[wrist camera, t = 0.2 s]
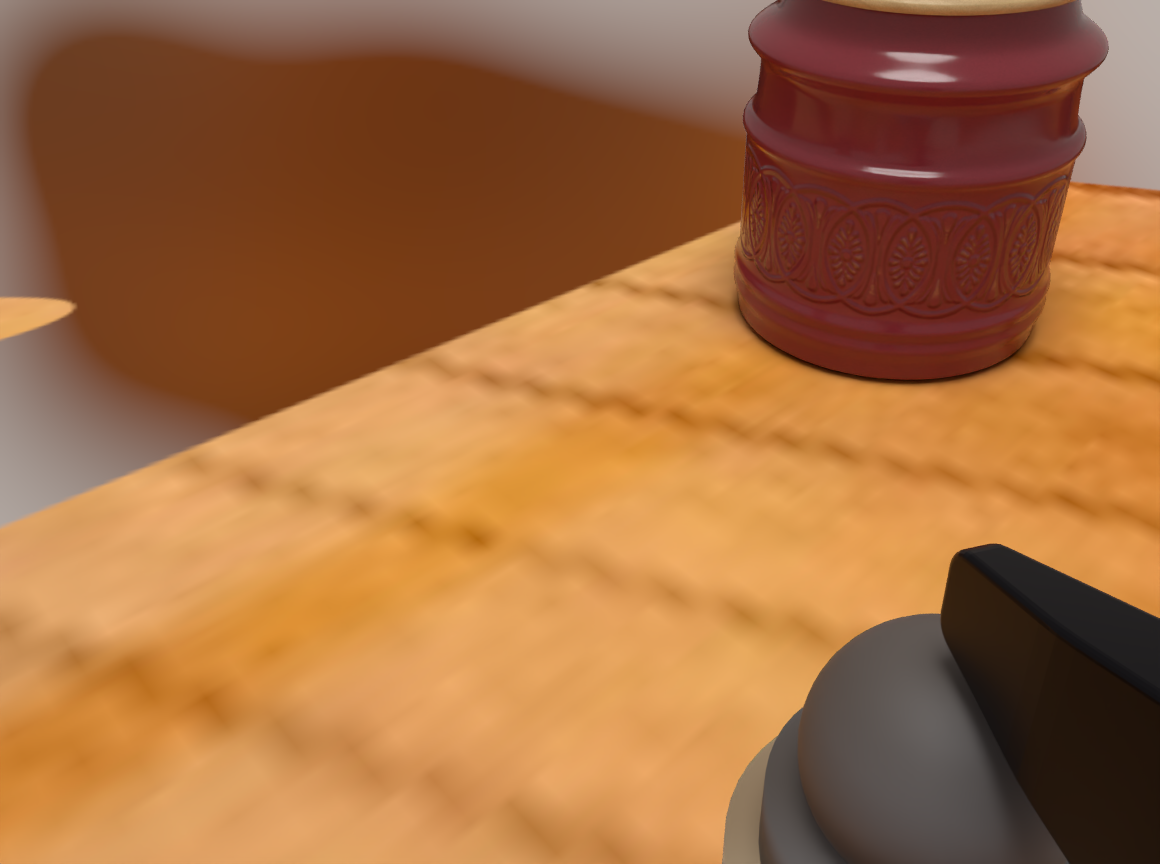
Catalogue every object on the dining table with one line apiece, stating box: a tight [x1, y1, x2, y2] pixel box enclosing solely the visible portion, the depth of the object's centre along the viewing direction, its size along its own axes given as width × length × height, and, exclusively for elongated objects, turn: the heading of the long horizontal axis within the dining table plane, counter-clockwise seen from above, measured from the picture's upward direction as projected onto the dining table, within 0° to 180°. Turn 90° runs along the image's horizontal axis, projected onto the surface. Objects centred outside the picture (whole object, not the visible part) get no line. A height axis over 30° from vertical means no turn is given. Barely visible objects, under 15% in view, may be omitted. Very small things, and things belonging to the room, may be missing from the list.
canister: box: [734, 0, 1109, 380], centre depth 43 cm, size 13×13×18 cm
